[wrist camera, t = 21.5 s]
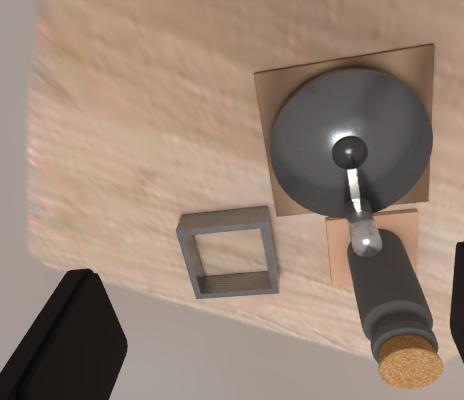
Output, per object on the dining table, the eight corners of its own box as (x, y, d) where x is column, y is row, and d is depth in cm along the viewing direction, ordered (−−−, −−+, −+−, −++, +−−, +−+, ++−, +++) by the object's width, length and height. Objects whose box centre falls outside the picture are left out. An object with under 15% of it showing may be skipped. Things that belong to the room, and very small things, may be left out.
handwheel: (255, 86, 38) (249, 117, 32) (422, 48, 35) (455, 73, 29) (286, 218, 45) (287, 268, 38) (429, 195, 42) (457, 244, 35)
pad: (416, 208, 44) (417, 212, 43) (414, 277, 48) (415, 280, 48) (325, 217, 45) (326, 220, 45) (331, 283, 50) (332, 286, 49)
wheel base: (433, 43, 36) (434, 44, 36) (427, 199, 43) (428, 201, 43) (254, 73, 39) (253, 74, 38) (276, 214, 46) (276, 216, 46)
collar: (267, 205, 45) (266, 221, 43) (279, 275, 50) (279, 293, 47) (181, 215, 47) (175, 230, 45) (200, 281, 52) (196, 299, 49)
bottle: (412, 259, 46) (463, 381, 33) (361, 279, 48) (390, 402, 35) (389, 219, 44) (434, 334, 31) (337, 242, 46) (358, 358, 33)
